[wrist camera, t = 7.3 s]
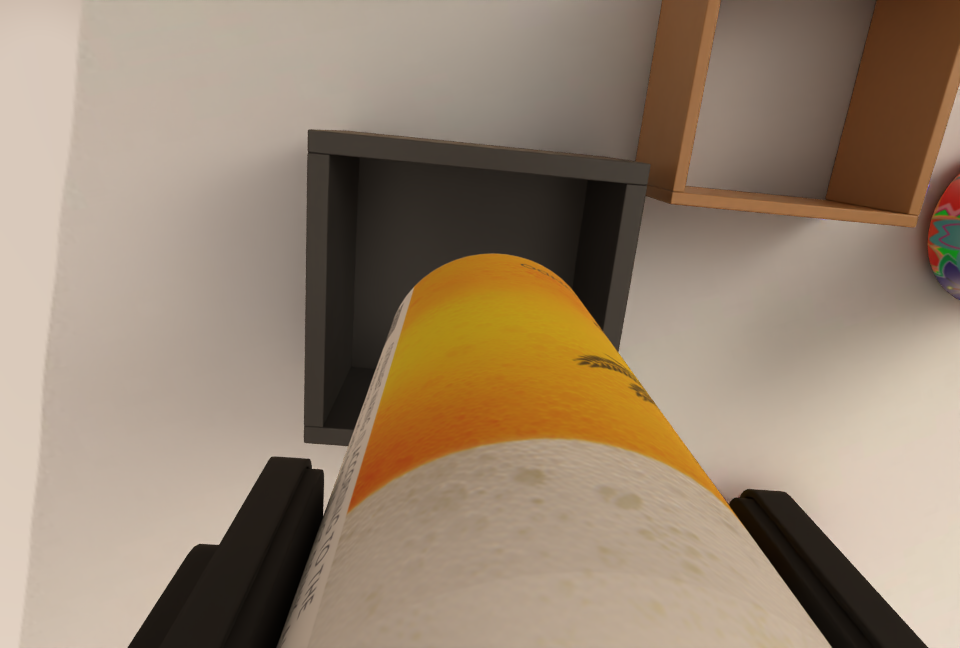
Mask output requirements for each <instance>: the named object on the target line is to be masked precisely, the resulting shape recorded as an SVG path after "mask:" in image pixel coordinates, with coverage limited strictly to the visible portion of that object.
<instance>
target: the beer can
mask: <svg viewBox="0 0 960 648" xmlns="http://www.w3.org/2000/svg"><path fill="white" fill-rule="evenodd" d="M276 648H832V647H831V646H830V644H829V643H828V641H827V640H826V639H825V637H824V636H823V635H822V633H821V632H820V630H819V629H818V628H817V626H816V625H815V624H814V622H813V621H812V619H811V618H810V617H809V615H808V614H807V612H806V611H805V610H804V608H803V607H802V606H801V604H800V603H799V601H798V600H797V599H796V597H795V596H794V595H793V593H792V592H791V590H790V589H789V588H788V586H787V585H786V584H785V582H784V581H783V579H782V578H781V577H780V575H779V574H778V572H777V571H776V570H775V568H774V567H773V566H772V564H771V563H770V561H769V560H768V559H767V557H766V556H765V555H764V553H763V552H762V550H761V549H760V548H759V546H758V545H757V543H756V542H755V541H754V539H753V538H752V537H751V535H750V534H749V532H748V531H747V530H746V528H745V527H744V526H743V524H742V523H741V521H740V520H739V519H738V517H737V516H736V515H735V513H734V512H733V510H732V509H731V508H730V506H729V505H728V503H727V502H726V501H725V499H724V498H723V497H722V495H721V494H720V492H719V491H718V490H717V488H716V487H715V486H714V484H713V483H712V481H711V480H710V479H709V477H708V476H707V474H706V473H705V472H704V470H703V469H702V468H701V466H700V465H699V463H698V462H697V461H696V459H695V458H694V457H693V455H692V454H691V452H690V451H689V450H688V448H687V447H686V446H685V444H684V443H683V441H682V440H681V439H680V437H679V436H678V434H677V433H676V432H675V430H674V429H673V428H672V426H671V425H670V423H669V422H668V421H667V419H666V418H665V417H664V415H663V414H662V412H661V411H660V410H659V408H658V407H657V405H656V404H655V403H654V401H653V400H652V399H651V397H650V396H649V394H648V393H647V392H646V390H645V389H644V388H643V386H642V385H641V383H640V382H639V381H638V379H637V378H636V377H635V375H634V374H633V372H632V371H631V370H630V368H629V367H628V365H627V364H626V363H625V361H624V360H623V359H622V357H621V356H620V354H619V353H618V352H617V350H616V349H615V348H614V346H613V345H612V343H611V342H610V341H609V339H608V338H607V336H606V335H605V334H604V332H603V331H602V330H601V328H600V327H599V325H598V324H597V323H596V321H595V320H594V319H593V317H592V316H591V314H590V313H589V312H588V310H587V309H586V307H585V306H584V305H583V303H582V302H581V301H580V299H579V298H578V296H577V295H576V294H575V293H574V291H573V290H572V289H571V288H570V287H569V286H568V285H567V284H566V283H565V282H564V281H563V280H562V279H561V278H560V277H559V276H557V275H556V274H555V273H553V272H552V271H551V270H549V269H547V268H545V267H544V266H542V265H540V264H538V263H536V262H533V261H531V260H528V259H525V258H522V257H518V256H513V255H508V254H495V253H491V254H478V255H472V256H467V257H463V258H460V259H456V260H454V261H452V262H449V263H447V264H444V265H443V266H441V267H439V268H437V269H435V270H434V271H432V272H431V273H430V274H428V275H427V276H425V277H424V278H423V279H422V280H421V281H420V282H419V283H417V284H416V285H415V286H414V287H413V289H412V290H411V291H410V292H409V293H408V295H407V296H406V297H405V299H404V300H403V302H402V303H401V305H400V307H399V309H398V311H397V313H396V315H395V317H394V320H393V323H392V325H391V328H390V331H389V334H388V337H387V339H386V342H385V345H384V348H383V351H382V353H381V356H380V359H379V362H378V365H377V367H376V370H375V373H374V376H373V379H372V381H371V384H370V387H369V390H368V393H367V395H366V398H365V401H364V404H363V407H362V409H361V412H360V415H359V418H358V421H357V423H356V426H355V429H354V432H353V435H352V437H351V440H350V443H349V446H348V449H347V451H346V454H345V457H344V460H343V463H342V465H341V468H340V471H339V474H338V477H337V479H336V482H335V485H334V488H333V491H332V493H331V496H330V499H329V502H328V505H327V507H326V510H325V513H324V516H323V519H322V521H321V524H320V527H319V530H318V533H317V535H316V538H315V541H314V544H313V547H312V549H311V552H310V555H309V558H308V561H307V563H306V566H305V569H304V572H303V575H302V577H301V580H300V583H299V586H298V589H297V591H296V594H295V597H294V600H293V603H292V605H291V608H290V611H289V614H288V617H287V619H286V622H285V625H284V628H283V631H282V633H281V636H280V639H279V642H278V645H277V647H276Z"/></svg>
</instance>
